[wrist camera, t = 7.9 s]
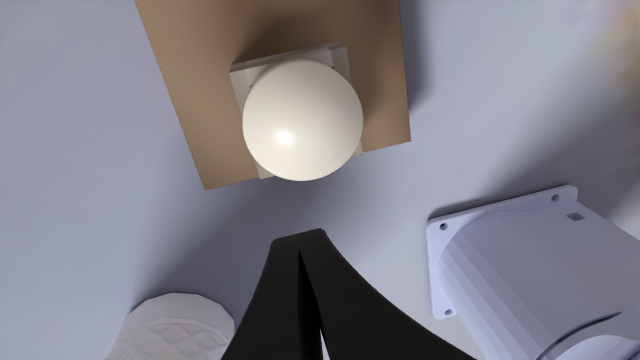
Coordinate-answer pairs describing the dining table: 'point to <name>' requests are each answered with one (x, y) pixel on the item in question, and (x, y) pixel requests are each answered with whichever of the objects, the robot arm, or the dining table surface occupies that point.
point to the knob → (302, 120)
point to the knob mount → (260, 54)
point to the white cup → (174, 330)
